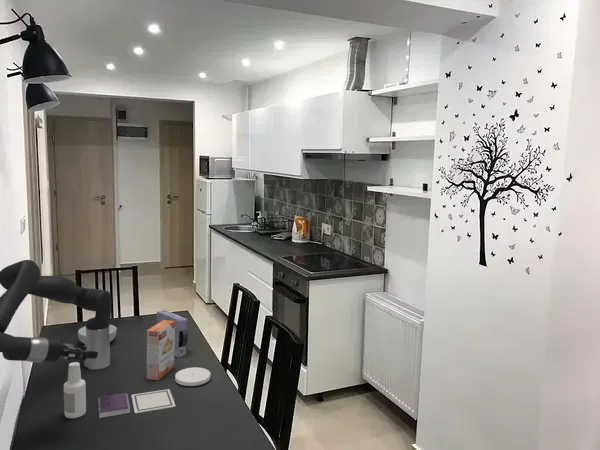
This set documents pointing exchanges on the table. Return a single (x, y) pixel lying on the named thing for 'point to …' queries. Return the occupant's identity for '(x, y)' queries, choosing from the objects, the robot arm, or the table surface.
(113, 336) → the cereal bowl
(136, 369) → the table surface
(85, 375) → the table surface
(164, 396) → the marked sheet
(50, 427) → the table surface
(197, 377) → the plastic lid
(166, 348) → the cracker box
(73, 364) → the spray bottle
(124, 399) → the ink pad
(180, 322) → the cake pan box
